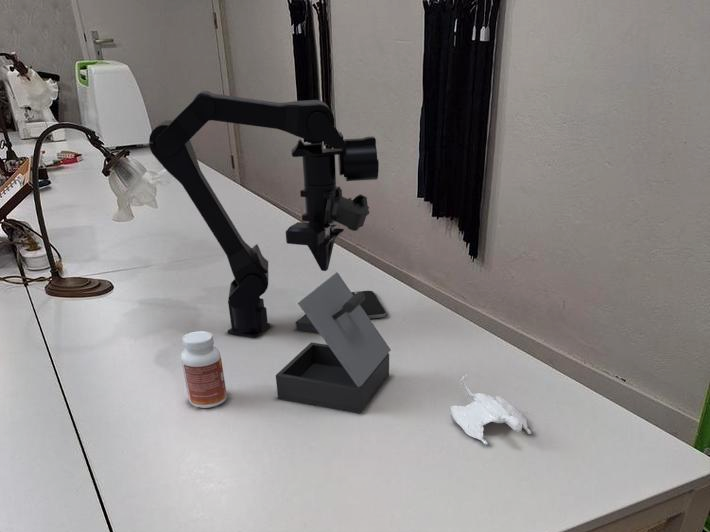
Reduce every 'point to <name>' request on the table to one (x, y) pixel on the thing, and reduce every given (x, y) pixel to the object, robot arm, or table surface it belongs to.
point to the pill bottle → (203, 370)
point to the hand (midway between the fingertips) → (324, 270)
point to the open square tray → (327, 381)
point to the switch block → (305, 325)
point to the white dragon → (486, 414)
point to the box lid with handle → (345, 327)
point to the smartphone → (372, 305)
